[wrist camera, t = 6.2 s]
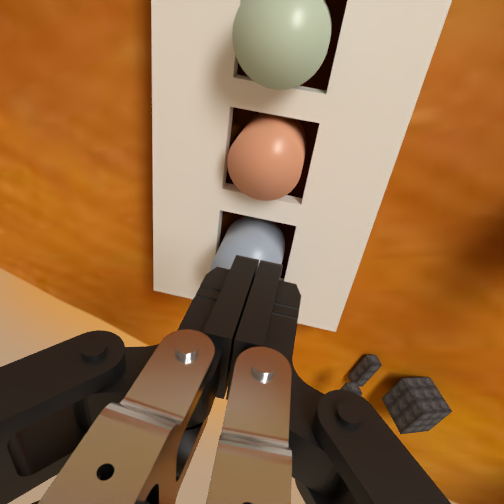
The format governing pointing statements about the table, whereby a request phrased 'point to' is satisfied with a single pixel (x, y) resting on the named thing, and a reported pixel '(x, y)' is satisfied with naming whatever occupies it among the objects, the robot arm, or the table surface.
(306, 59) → the pale green rounded piece
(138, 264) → the table surface
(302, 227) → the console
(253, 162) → the terracotta button
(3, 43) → the table surface
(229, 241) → the slate button
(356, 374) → the building blocks
